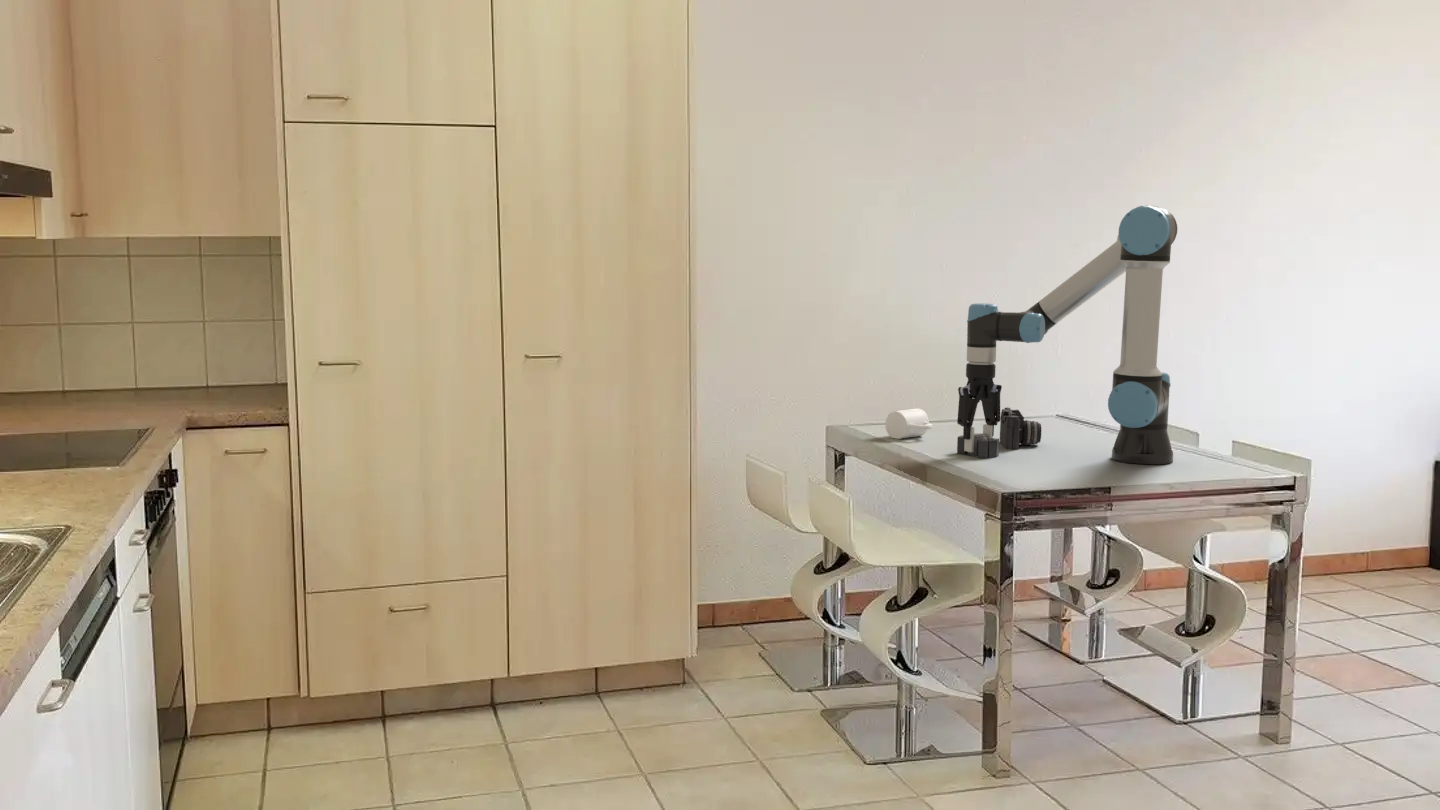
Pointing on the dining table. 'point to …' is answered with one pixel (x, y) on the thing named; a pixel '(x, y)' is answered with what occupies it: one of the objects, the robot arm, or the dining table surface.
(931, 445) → the dining table surface
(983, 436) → the grey cylinder block
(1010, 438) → the camera
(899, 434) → the mug
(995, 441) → the clustered grey blocks
